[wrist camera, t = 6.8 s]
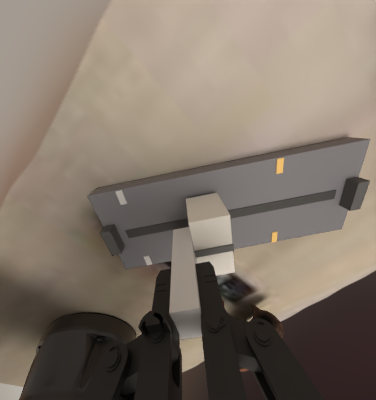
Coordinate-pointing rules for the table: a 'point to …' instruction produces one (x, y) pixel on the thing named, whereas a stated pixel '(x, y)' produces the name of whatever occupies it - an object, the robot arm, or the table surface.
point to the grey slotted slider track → (237, 199)
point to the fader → (211, 232)
